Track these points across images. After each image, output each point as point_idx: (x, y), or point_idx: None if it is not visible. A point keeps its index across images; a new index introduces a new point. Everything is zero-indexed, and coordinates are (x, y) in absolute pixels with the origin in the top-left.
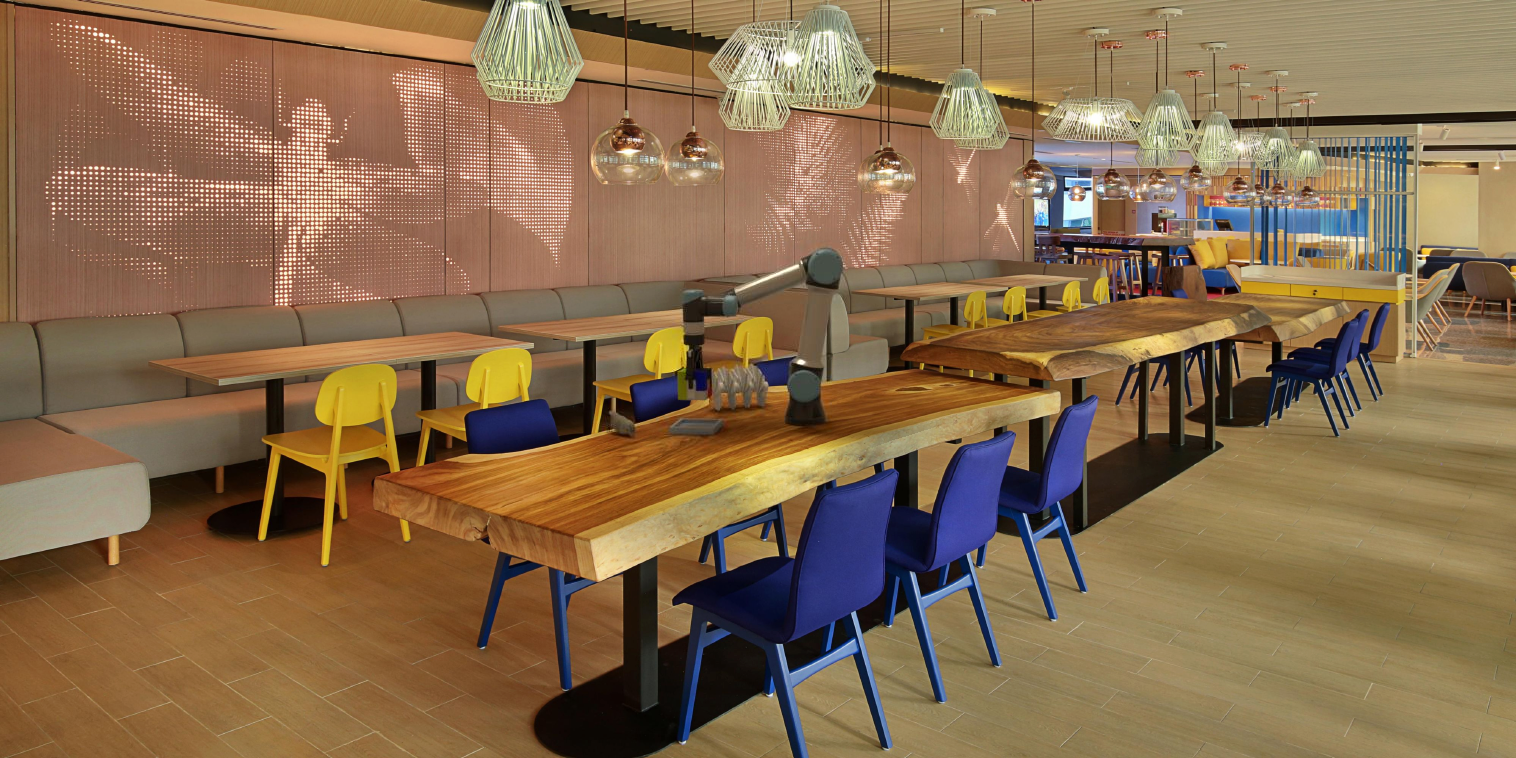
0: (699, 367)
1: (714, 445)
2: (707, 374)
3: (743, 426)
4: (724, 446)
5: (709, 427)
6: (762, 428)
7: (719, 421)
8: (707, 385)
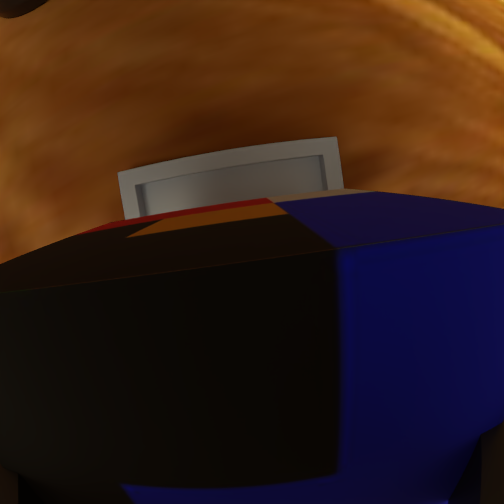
0: (30, 495)
1: (465, 97)
2: (278, 232)
3: (125, 83)
4: (464, 65)
5: (235, 193)
6: (150, 6)
7: (171, 165)
8: (276, 206)
